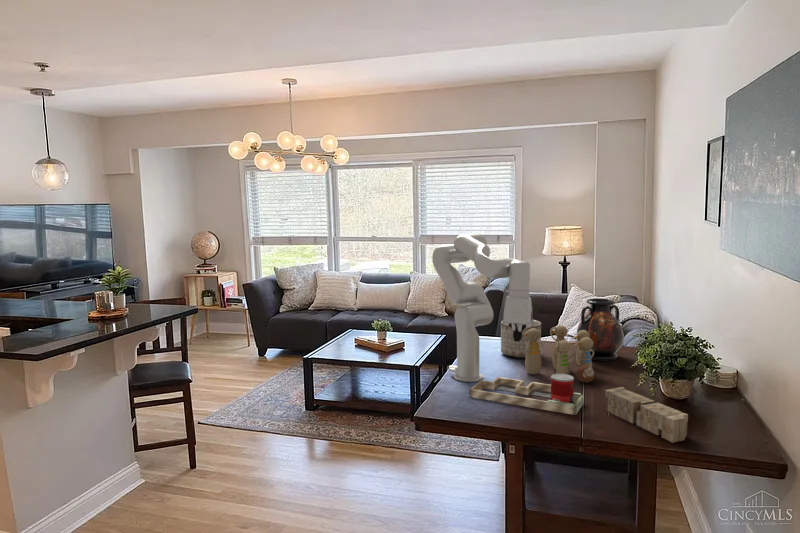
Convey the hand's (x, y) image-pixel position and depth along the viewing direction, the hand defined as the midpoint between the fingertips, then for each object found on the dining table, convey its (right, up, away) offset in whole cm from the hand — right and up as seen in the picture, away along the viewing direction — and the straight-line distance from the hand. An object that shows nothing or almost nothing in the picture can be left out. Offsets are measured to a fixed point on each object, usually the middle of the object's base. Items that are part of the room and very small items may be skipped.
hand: (517, 340), depth 204 cm
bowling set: (+26, -19, +34) cm, 47 cm away
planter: (+15, -16, +62) cm, 65 cm away
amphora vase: (+52, -16, +56) cm, 78 cm away
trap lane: (+4, -22, +1) cm, 22 cm away
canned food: (+15, -23, -8) cm, 28 cm away
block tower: (+37, -25, -25) cm, 51 cm away
